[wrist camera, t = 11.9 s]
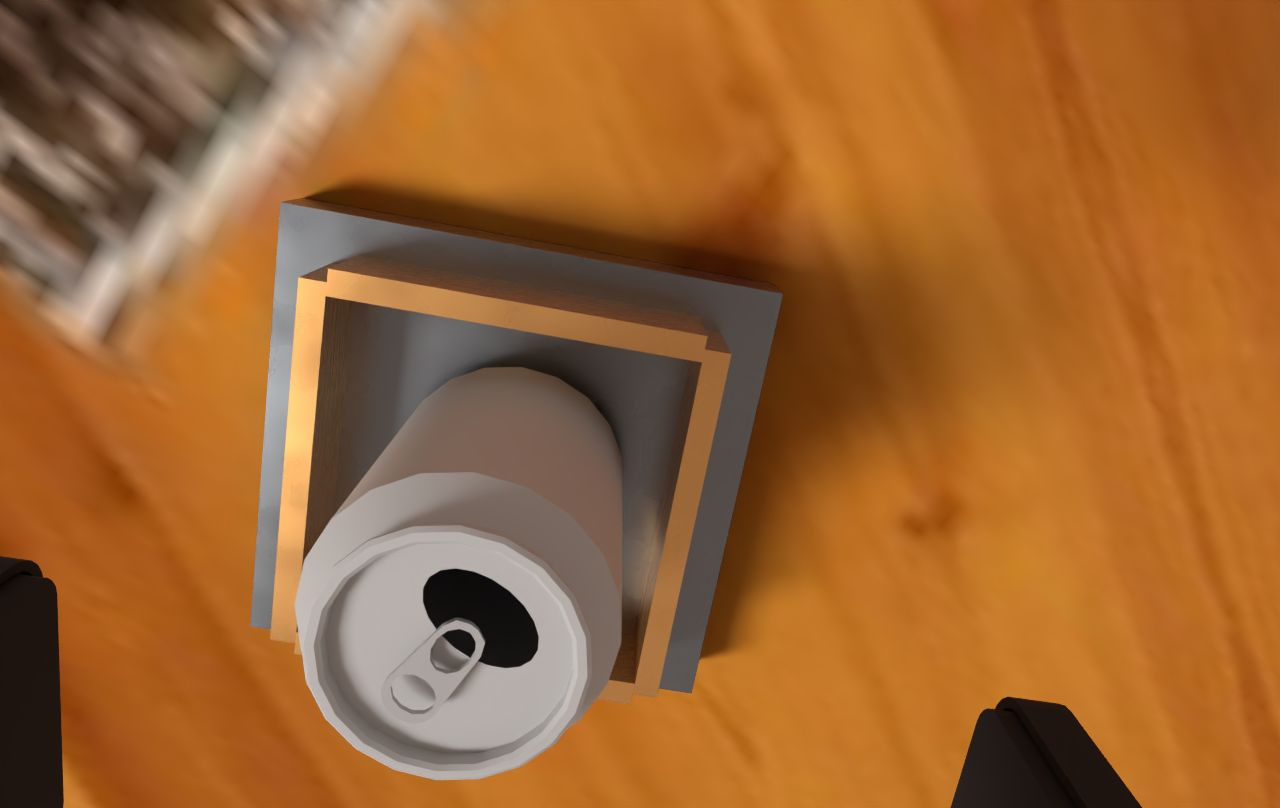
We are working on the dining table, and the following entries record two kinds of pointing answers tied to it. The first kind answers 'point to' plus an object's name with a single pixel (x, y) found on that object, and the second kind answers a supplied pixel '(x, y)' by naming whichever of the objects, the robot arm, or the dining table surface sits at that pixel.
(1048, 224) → the dining table surface
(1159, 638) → the dining table surface
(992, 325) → the dining table surface
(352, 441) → the open square box
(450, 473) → the can
